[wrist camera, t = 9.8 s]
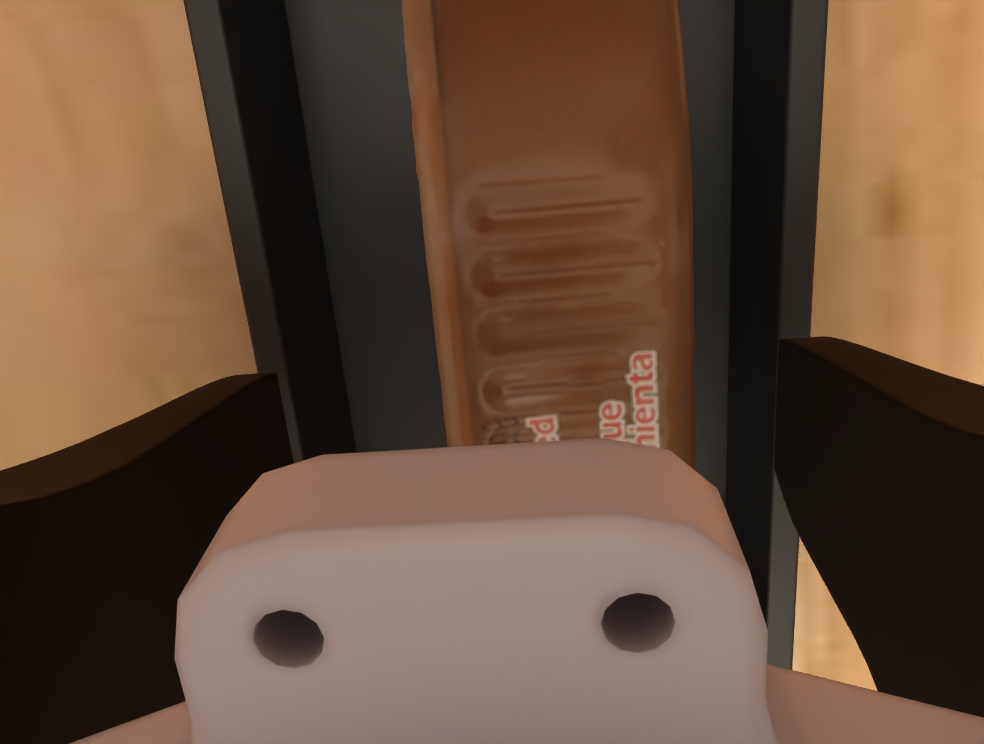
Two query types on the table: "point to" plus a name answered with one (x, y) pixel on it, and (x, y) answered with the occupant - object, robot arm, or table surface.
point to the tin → (556, 217)
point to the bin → (401, 249)
